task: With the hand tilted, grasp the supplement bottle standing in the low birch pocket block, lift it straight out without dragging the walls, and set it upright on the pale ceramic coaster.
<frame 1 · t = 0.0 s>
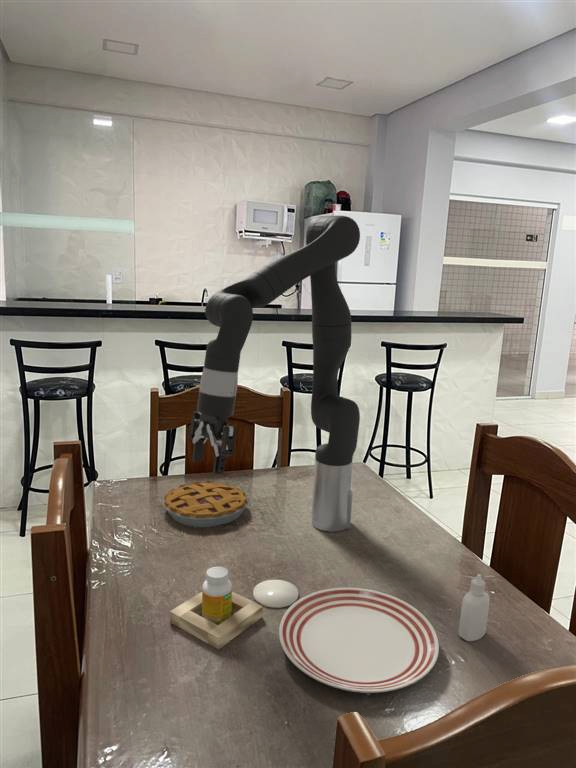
hand: (207, 467, 122), 22 cm above the table, tool pointing down, fingers open, 8 cm apart
pie: (205, 512, 154), on the table
eye dropper bottle: (471, 635, 107), on the table
supplement bottle: (216, 620, 108), resting in birch pocket block
birch pocket block: (216, 619, 108), on the table
pale ceramic coaster: (275, 594, 117), on the table
dinner plate: (356, 648, 103), on the table
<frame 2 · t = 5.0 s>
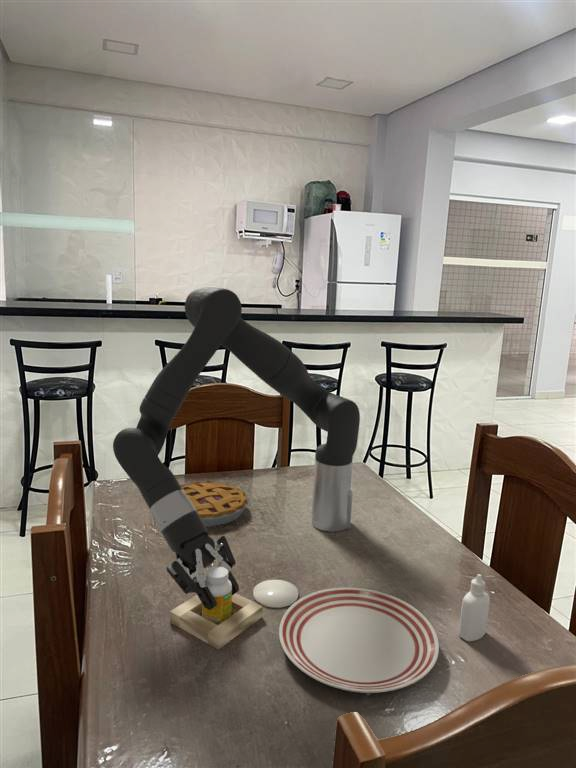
hand: (224, 599, 106), 5 cm above the table, tool tilted 45°, fingers closed on supplement bottle, 5 cm apart
supplement bottle: (216, 620, 108), resting in birch pocket block, touching gripper
everything else where it was.
when the fingers open (7 cm above the table, at t = 10.0 s): supplement bottle drops 1 cm, resting on pale ceramic coaster.
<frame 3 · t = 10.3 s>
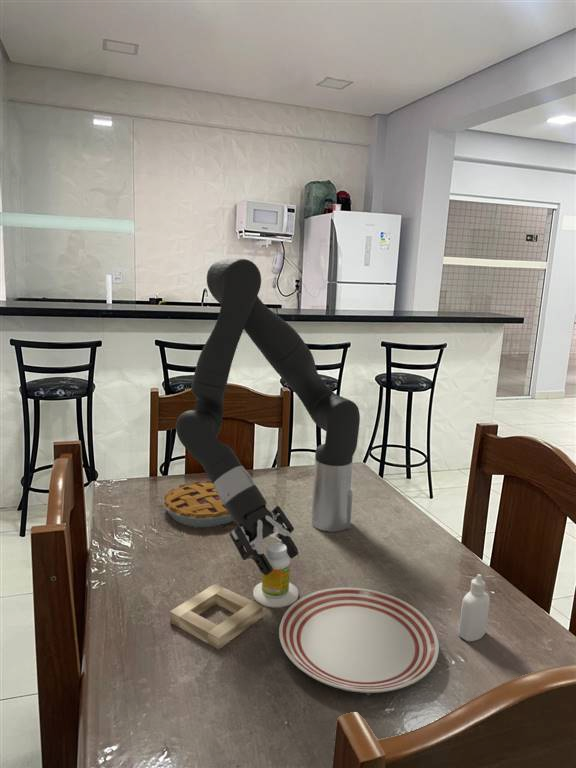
hand: (282, 564, 115), 7 cm above the table, tool tilted 45°, fingers open, 8 cm apart
supplement bottle: (275, 592, 117), resting on pale ceramic coaster
everything else where it was.
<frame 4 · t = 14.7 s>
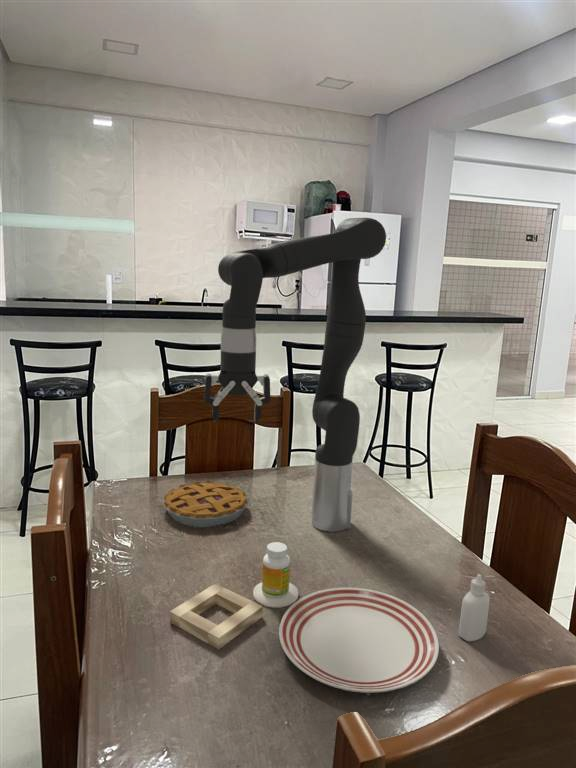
hand: (236, 421, 129), 30 cm above the table, tool pointing down, fingers open, 8 cm apart
nothing on the table moved.
at the end: supplement bottle inside the target area on the pale ceramic coaster (0.2 cm from its centre), point 0.4 cm above the pale ceramic coaster's base; supplement bottle tilted 0°; supplement bottle touching pale ceramic coaster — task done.
